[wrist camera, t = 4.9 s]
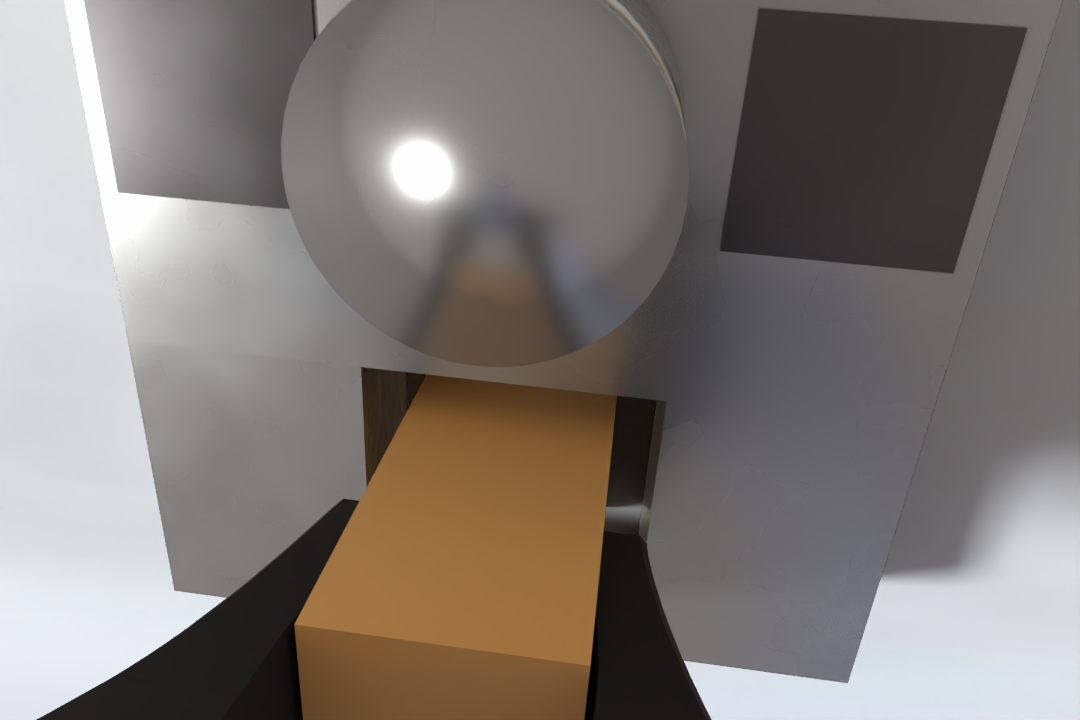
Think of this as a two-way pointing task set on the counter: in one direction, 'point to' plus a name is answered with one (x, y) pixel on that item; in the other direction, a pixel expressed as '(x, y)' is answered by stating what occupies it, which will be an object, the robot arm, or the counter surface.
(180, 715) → the robot arm
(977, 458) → the counter surface
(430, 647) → the orange rectangular box
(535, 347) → the gray tray with knob
